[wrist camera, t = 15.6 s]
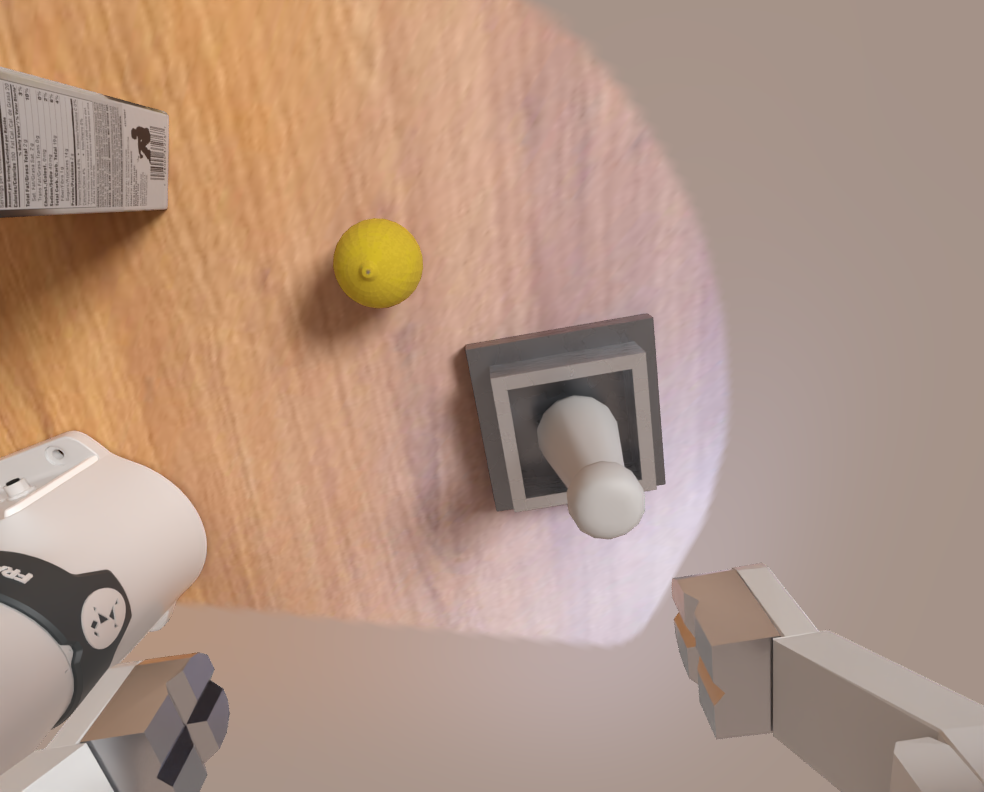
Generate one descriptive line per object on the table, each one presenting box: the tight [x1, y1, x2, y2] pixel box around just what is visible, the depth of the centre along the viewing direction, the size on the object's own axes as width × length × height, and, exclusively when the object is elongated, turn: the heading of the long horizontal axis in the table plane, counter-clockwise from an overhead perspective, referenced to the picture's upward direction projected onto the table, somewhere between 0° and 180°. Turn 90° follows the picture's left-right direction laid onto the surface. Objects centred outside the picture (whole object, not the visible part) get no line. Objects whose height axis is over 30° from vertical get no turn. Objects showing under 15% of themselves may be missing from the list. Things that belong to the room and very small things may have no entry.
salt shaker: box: [537, 395, 645, 539], centre depth 37 cm, size 6×6×13 cm
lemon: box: [333, 218, 423, 308], centre depth 36 cm, size 6×6×8 cm
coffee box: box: [0, 67, 169, 218], centre depth 29 cm, size 9×6×16 cm
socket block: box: [466, 314, 665, 512], centre depth 42 cm, size 14×14×4 cm
